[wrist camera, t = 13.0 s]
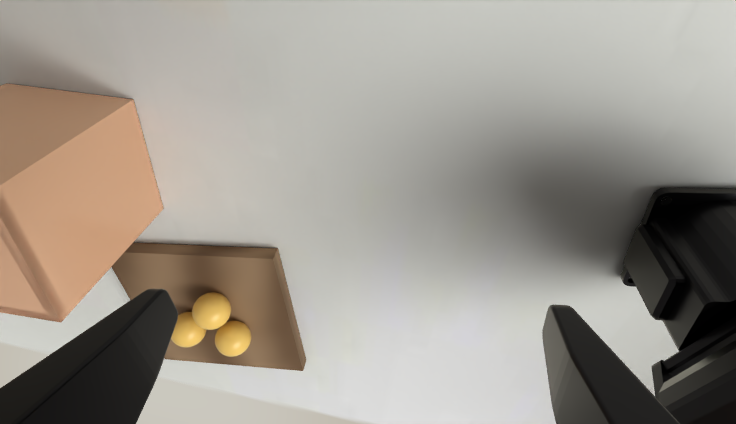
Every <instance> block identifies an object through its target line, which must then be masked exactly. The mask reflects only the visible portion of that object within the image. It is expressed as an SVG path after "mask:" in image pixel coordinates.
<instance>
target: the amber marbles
mask: <svg viewBox="0 0 736 424" xmlns="http://www.w3.org/2000/svg"><path fill="white" fill-rule="evenodd" d="M230 313H231V306H230V303H229V301H228V299H227V298H226V297H225V296H224V295H222V294H220V293H215V292H211V293H206V294H204V295H202V296H201V297H199V298H198V299H197V300H196V302H195V303H194V305H193V309H192V312H184V313H181V314H180V315H178V319H177V323H176V325H175V328H174V331H173V334H172V337H171V340H172V341H173V342H174V343H175V344H176V345H178V346H180V347H192V346H194V345H196V344H198V343H199V342H200V341H201V340H202V339H203V338H204V336H205V334H206V330H214V329H217V328H219V327H220V328H219V329H218V331H217V333H216V335H215V345H216V348H217V349H218V351H219V352H220V353H221V354H223V355H225V356H229V357H234V356H238V355H240V354H242V353H243V352H244V351H245V350H246V349H247V348H248V347H249V345H250V342H251V332H250V330H249V328H248V327H247V325H246V324H244V323H243V322H240V321H229V322H227V320H228V319H229V317H230Z"/></svg>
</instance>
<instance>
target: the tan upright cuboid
mask: <svg viewBox="0 0 736 424" xmlns="http://www.w3.org/2000/svg"><path fill="white" fill-rule="evenodd" d="M163 209H164V208H163V205H162V201H161V198H160V194H159V190H158V187H157V183H156V179H155V176H154V172H153V169H152V165H151V161H150V158H149V154H148V151H147V147H146V143H145V140H144V136H143V132H142V129H141V125H140V122H139V118H138V114H137V111H136V107H135V104H134V100H133V99H126V98H118V97H110V96H102V95H94V94H86V93H78V92H70V91H63V90H55V89H47V88H39V87H31V86H23V85H15V84H7V83H6V84H4V85H2V86H0V312H1V313H8V314H14V315H20V316H26V317H32V318H38V319H44V320H50V321H56V322H62V321H63V320H64V319H65V318H66V316H67V315H68V314H69V313H70V312H71V311H72V310H73V309H74V308H75V306H76V305H77V304H78V303H79V302H80V301H81V300H82V299H83V298H84V296H85V295H86V294H87V293H88V292H89V291H90V290H91V289H92V288H93V286H94V285H95V284H96V283H97V282H98V281H99V280H100V279H101V278H102V276H103V275H104V274H105V273H106V272H107V271H108V270H109V269H110V268H111V266H112V265H113V264H114V263H115V262H116V261H117V260H118V259H119V258H120V256H121V255H122V254H123V253H124V252H125V251H126V250H127V249H128V248H129V246H130V245H131V244H132V243H133V242H134V241H135V240H136V239H137V238H138V236H139V235H140V234H141V233H142V232H143V231H144V230H145V229H146V228H147V226H148V225H149V224H150V223H151V222H152V221H153V220H154V219H155V218H156V216H157V215H158V214H159V213H160V212H161V211H162V210H163Z"/></svg>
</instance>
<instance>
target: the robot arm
mask: <svg viewBox="0 0 736 424" xmlns="http://www.w3.org/2000/svg"><path fill="white" fill-rule="evenodd" d="M664 197H668V198H667V199H665V200H662V201H661V199H662V198H664ZM624 264H625V265H624V268H623V270H622V273H621V279H622V281H623V283H624V284H625V285H627V286H636V287H637V289H638V291H639V293H640V295H641V297H642V299H643V301H644V303H645V305H646V307H647V309H648V311H649V313H650V315H651V316H652V317H653V318H654V319H655V320H663V322H664V324H665V326H666V328H667V330H668V331H669V333H670V335H671V337H672V339H673V341H674V343H675V345H676V346H677V348H678V350H679V352H677V353H676V354H674V355H673V356H671V357H670V358H668V359H666V360H665V361H663V360H661V361H659V362H657V363H656V364H654V365H653V366H652V373H653V381H654V389H655V396H654V395H653V394H652V393H651V392H650V391H649V390H648V389H647V388H646V387H645V386H644V384H643V383H642V382H641V381H640V380H639V379H638V378H637V377H636V376H635V375H634V374H633V373H632V372H631V370H630V369H629V368H628V367H627V366H626V365H625V364H624V363H623V362H622V361H621V360H620V359H619V358H618V356H617V355H616V354H615V353H614V352H613V351H612V350H611V349H610V348H609V347H608V346H607V345H606V344H605V342H604V341H603V340H602V339H601V338H600V337H599V336H598V335H597V334H596V333H595V332H594V331H593V330H592V328H591V327H590V326H589V325H588V324H587V323H586V322H585V321H584V320H583V319H582V318H581V317H580V316H579V314H578V313H577V312H576V311H575V310H574V309H573V308H572V307H570V306H567V305H551V306H550V307H549V308H548V311H547V315H546V319H545V323H544V326H543V345H544V352H545V359H546V366H547V373H548V380H549V388H550V395H551V401H552V407H553V412H554V416H555V420H556V424H736V189H700V188H662V189H659V190H657V191H656V192H655V193H654V194H653V195H652V197H651V200H650V202H649V205H648V207H647V210H646V213H645V215H644V218H643V220H642V223H641V225H639V226H638V227H637V228H636V231H635V233H634V236H633V238H632V241H631V244H630V246H629V249H628V251H627V254H626V256H625V259H624ZM177 319H178V311H177V309H176V307H175V305H174V303H173V301H172V299H171V297H170V295H169V293H168V292H167V291H166V290H165V289H155V288H151V289H147V290H145V291H144V292H142V293H141V294H139V295H138V296H136V297H135V298H133V299H132V300H130V301H129V302H127V303H126V304H124V305H123V306H121V307H120V308H119V309H117V310H116V311H114V312H113V313H111V314H110V315H108V316H107V317H105V318H104V319H102V320H101V321H99V322H98V323H96V324H95V325H93V326H92V327H90V328H89V329H87V330H86V331H85V332H83V333H82V334H80V335H79V336H77V337H76V338H74V339H73V340H71V341H70V342H68V343H67V344H65V345H64V346H62V347H61V348H59V349H58V350H56V351H55V352H53V353H52V354H50V355H49V356H47V357H46V358H45V359H43V360H42V361H40V362H39V363H37V364H36V365H34V366H33V367H31V368H30V369H29V370H27V371H25V372H24V373H22V374H21V375H19V376H18V377H16V378H15V379H13V380H12V381H11V382H9V383H8V384H6V385H5V386H3V387H2V388H0V424H136V422H137V420H138V418H139V416H140V414H141V411H142V409H143V407H144V405H145V403H146V401H147V399H148V396H149V394H150V392H151V390H152V388H153V385H154V383H155V381H156V379H157V376H158V374H159V371H160V368H161V366H162V363H163V360H164V357H165V354H166V351H167V348H168V346H169V343H170V340H171V337H172V334H173V331H174V328H175V325H176V323H177Z"/></svg>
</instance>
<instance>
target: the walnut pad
mask: <svg viewBox="0 0 736 424" xmlns="http://www.w3.org/2000/svg"><path fill="white" fill-rule="evenodd" d="M111 267H112V269H113V270H114V272H115V274H116V275H117V277H118V279H119V281H120V282H121V284H122V286H123V287H124V289H125V291H126V293H127V294H128V296H129V298H130V300H132V299H133V298H135V297H136V296H138V295H139V294H141V293H142V292H144V291H145V290H147V289H151V288H155V289H165V290H166V291H167V292H168V293H169V295H170V297H171V299H172V301H173V303H174V305H175V307H176V309H177V311H178V315H180V314H181V313H184V312H192V309H193V305H194V303H195V302H196V300H197V299H198V298H199V297H201V296H202V295H204V294H206V293H211V292H215V293H220V294H222V295H224V296H225V297H226V298H227V299H228V301H229V303H230V306H231V313H230V317H229V319H228V320H227V322H229V321H240V322H243V323H244V324H246V325H247V327H248V328H249V330H250V332H251V342H250V345H249V347H248V348H247V349H246V350H245V351H244V352H243V353H242V354H240V355H238V356H234V357H229V356H225V355H223V354H221V353H220V352H219V351H218V349H217V348H216V345H215V335H216V333H217V331H218V329H219V328H220V327H219V328H217V329H214V330H206V334H205V336H204V338H203V339H202V340H201V341H200V342H199V343H198V344H196V345H194V346H192V347H180V346H178V345H176V344H175V343H174V342H173V341H172V340H170V343H169V346H168V348H167V351H166V354H165V357H164V358H165V359H171V360H182V361H194V362H206V363H217V364H229V365H241V366H252V367H264V368H276V369H287V370H299V371H303V369H304V366H305V363H306V357H305V353H304V349H303V345H302V341H301V337H300V333H299V329H298V326H297V322H296V318H295V314H294V310H293V306H292V302H291V298H290V294H289V290H288V286H287V282H286V278H285V274H284V271H283V267H282V263H281V259H280V255H279V251H278V249H275V248H251V247H226V246H202V245H178V244H153V243H132V244H131V245H130V246H129V248H128V249H127V250H126V251H125V252H124V253H123V254H122V255H121V256H120V258H119V259H118V260H117V261H116V262H115V263H114V264H113V265H112V266H111Z"/></svg>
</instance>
